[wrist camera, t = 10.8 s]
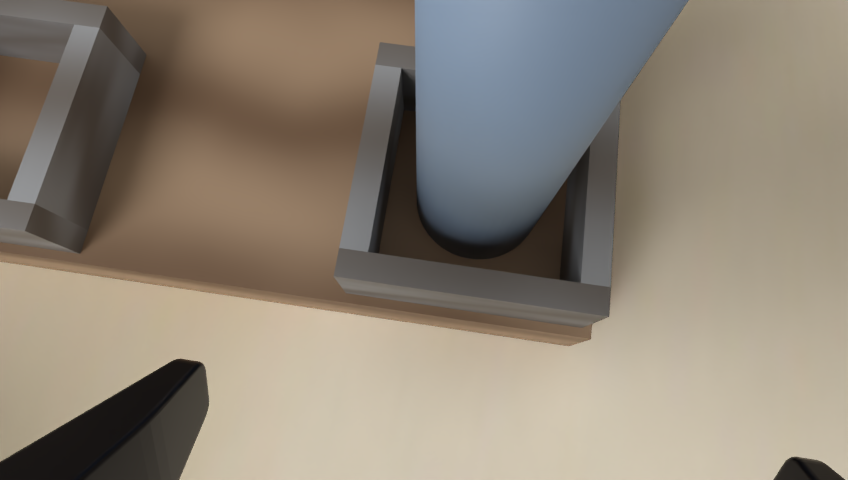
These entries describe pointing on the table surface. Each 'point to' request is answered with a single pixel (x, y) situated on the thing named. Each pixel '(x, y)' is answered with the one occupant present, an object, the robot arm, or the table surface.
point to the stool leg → (516, 105)
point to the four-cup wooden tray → (267, 165)
